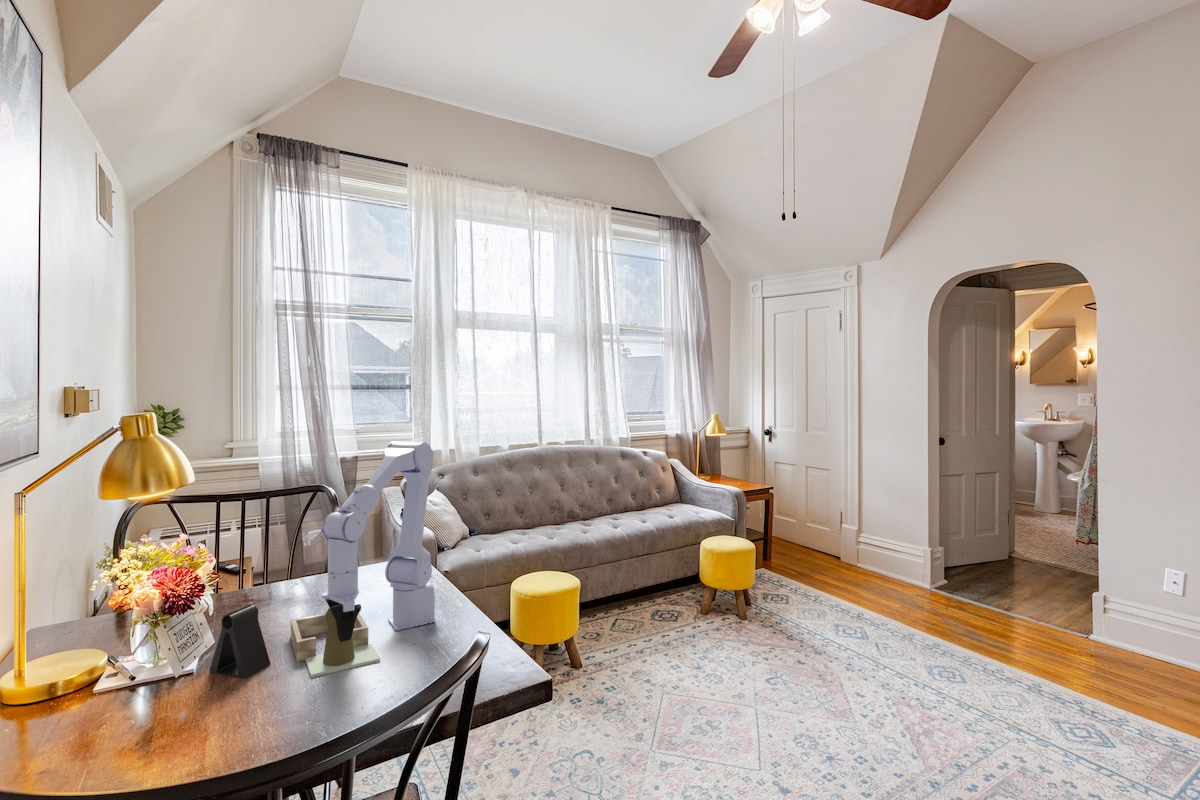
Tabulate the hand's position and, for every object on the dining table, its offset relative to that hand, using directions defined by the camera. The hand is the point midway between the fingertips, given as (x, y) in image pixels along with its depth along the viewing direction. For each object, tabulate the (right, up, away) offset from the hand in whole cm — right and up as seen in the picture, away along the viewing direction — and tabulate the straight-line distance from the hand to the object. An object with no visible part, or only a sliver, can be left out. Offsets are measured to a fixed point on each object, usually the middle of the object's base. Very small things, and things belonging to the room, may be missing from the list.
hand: (342, 635), depth 121 cm
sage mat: (0, -5, 0) cm, 5 cm away
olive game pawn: (-1, -5, 0) cm, 5 cm away
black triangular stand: (-19, -6, -4) cm, 20 cm away
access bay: (-7, -5, +10) cm, 13 cm away
